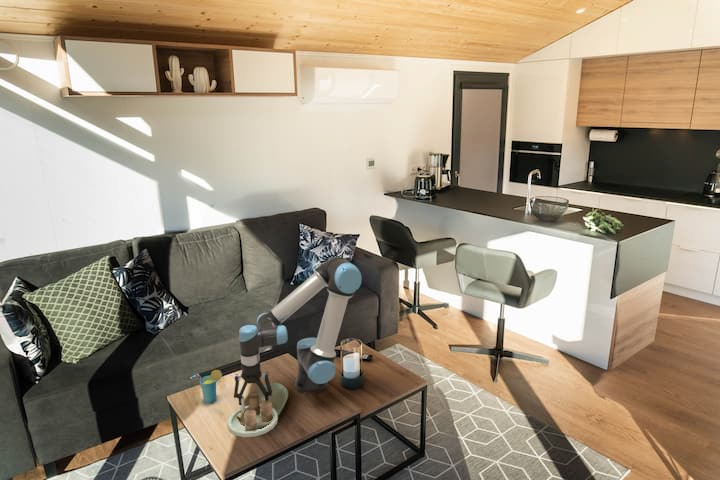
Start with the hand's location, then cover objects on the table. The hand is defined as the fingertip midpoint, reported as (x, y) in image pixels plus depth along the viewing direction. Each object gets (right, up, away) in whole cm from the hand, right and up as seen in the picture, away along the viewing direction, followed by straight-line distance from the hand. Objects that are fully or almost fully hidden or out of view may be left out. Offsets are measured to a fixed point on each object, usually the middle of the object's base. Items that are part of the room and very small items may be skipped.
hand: (254, 410), depth 209 cm
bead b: (+1, -4, -11) cm, 12 cm away
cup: (-23, 0, +12) cm, 26 cm away
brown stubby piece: (0, -1, 0) cm, 2 cm away
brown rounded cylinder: (+6, -3, -5) cm, 8 cm away
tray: (+1, -4, -5) cm, 6 cm away
